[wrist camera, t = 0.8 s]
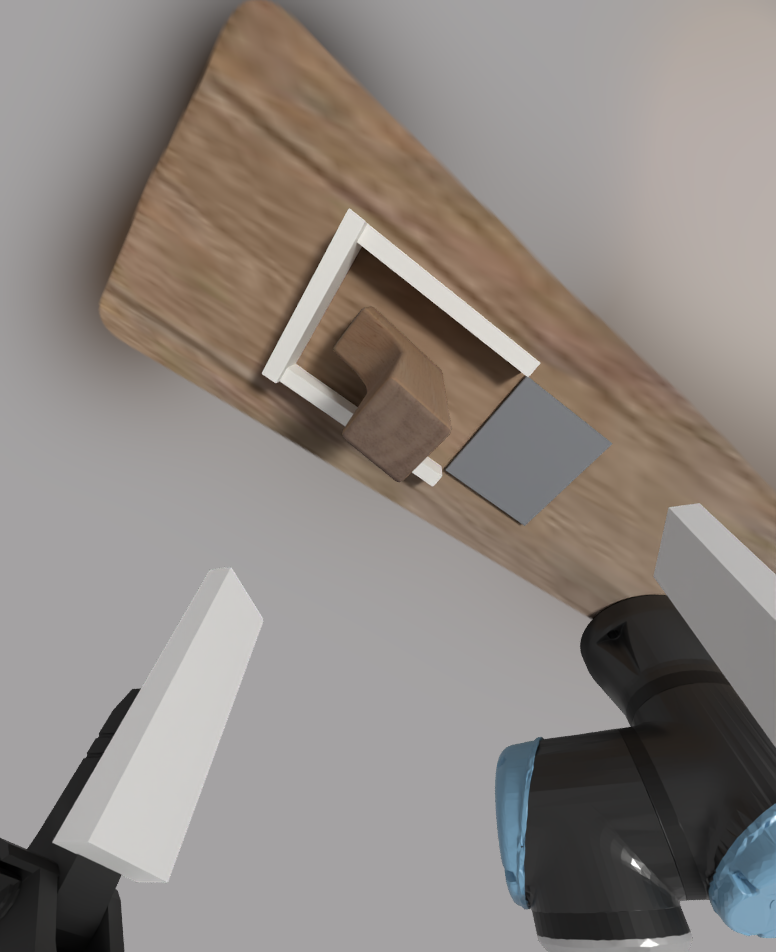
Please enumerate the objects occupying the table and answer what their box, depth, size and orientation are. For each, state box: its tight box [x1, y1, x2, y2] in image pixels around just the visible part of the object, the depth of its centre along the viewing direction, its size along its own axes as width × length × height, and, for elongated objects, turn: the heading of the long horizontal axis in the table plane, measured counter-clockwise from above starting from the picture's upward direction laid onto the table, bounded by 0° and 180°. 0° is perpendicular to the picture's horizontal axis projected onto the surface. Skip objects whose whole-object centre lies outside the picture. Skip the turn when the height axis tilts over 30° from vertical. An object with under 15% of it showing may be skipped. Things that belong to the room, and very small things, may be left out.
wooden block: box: [333, 307, 452, 482], centre depth 28 cm, size 9×4×18 cm, turn 50°
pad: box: [446, 376, 612, 526], centre depth 39 cm, size 11×12×1 cm
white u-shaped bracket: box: [262, 208, 540, 486], centre depth 35 cm, size 20×15×4 cm
